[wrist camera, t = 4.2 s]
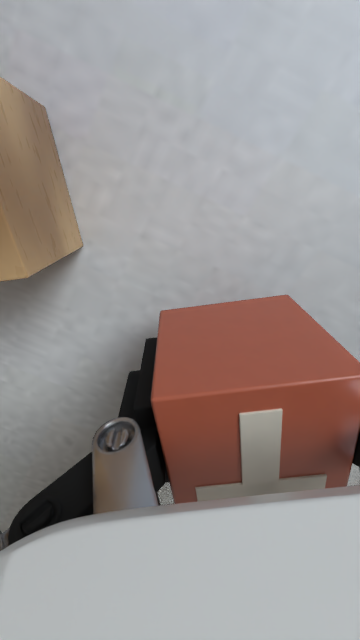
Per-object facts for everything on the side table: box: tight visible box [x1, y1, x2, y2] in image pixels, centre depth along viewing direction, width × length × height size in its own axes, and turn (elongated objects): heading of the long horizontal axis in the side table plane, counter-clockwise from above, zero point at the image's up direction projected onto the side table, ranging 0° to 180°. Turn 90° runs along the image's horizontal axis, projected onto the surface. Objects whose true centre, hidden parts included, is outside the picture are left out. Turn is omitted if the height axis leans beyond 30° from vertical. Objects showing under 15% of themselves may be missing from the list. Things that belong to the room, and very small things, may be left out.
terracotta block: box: [151, 295, 360, 504], centre depth 9 cm, size 5×5×5 cm
